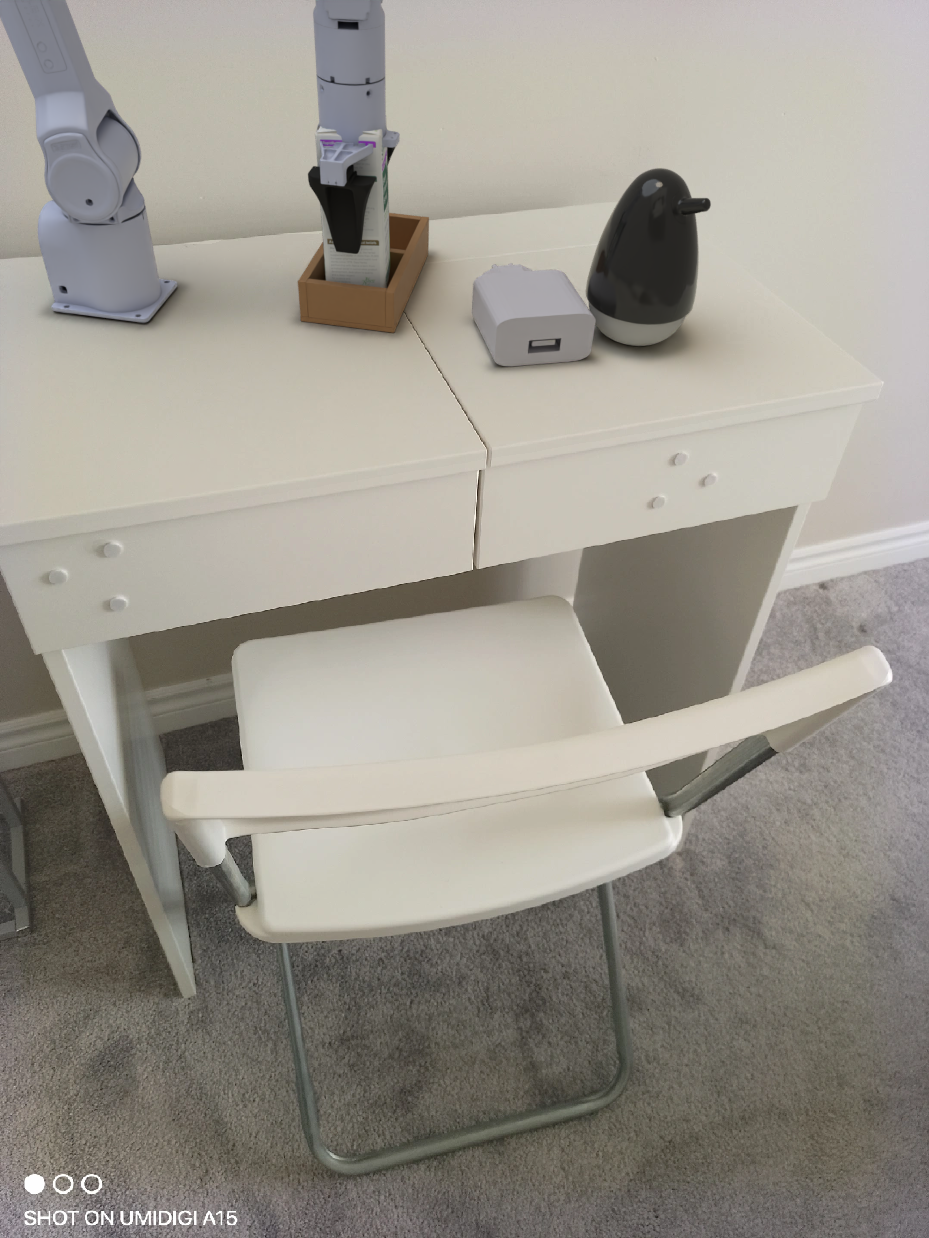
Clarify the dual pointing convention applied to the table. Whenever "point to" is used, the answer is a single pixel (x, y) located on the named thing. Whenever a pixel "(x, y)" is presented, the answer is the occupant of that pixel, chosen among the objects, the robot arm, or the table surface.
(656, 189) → the pump dispenser
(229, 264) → the table surface
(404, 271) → the divided box
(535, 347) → the charger
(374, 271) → the syrup box
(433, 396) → the table surface
